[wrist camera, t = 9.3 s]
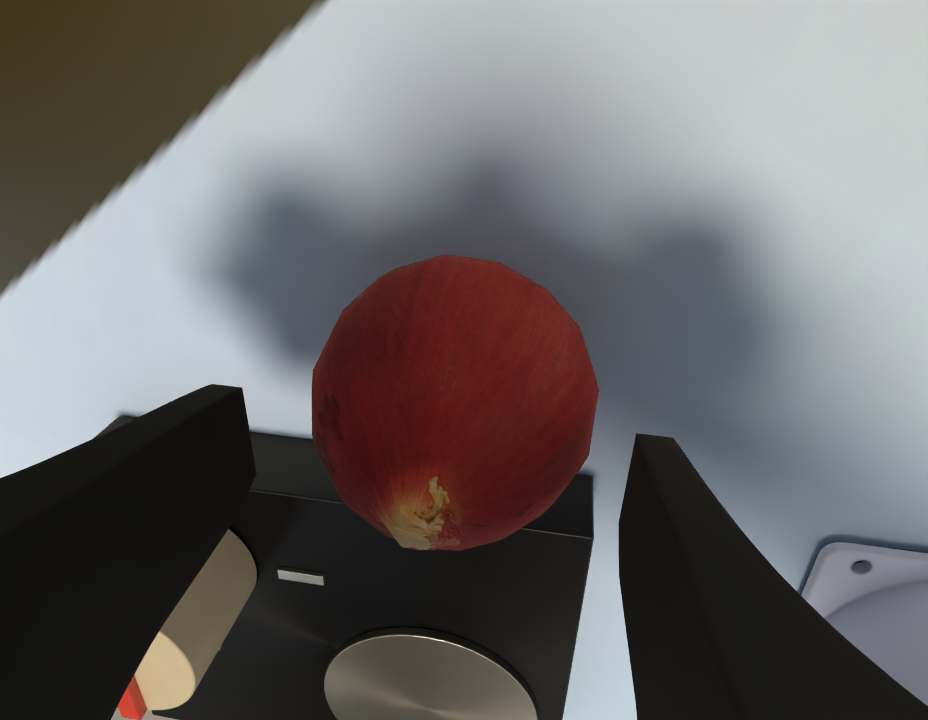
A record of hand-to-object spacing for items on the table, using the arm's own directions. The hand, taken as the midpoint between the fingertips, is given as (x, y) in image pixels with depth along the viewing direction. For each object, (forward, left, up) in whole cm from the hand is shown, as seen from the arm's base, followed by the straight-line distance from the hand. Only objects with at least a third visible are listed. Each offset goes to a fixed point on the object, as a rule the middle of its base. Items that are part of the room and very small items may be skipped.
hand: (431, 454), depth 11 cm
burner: (+1, +13, -3) cm, 13 cm away
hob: (+4, +11, -6) cm, 13 cm away
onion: (0, 0, -6) cm, 6 cm away
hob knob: (+8, +8, -3) cm, 11 cm away
